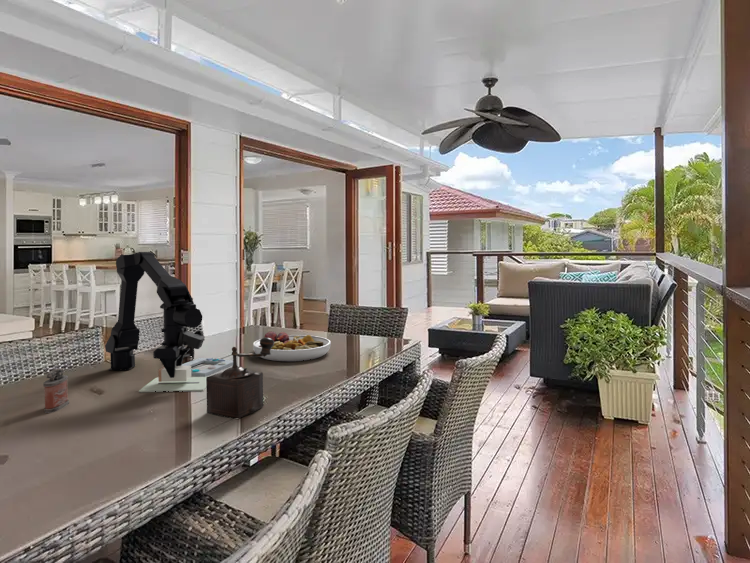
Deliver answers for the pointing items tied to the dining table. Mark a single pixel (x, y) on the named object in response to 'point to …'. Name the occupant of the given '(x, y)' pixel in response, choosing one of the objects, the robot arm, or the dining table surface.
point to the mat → (176, 385)
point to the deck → (180, 374)
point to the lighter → (55, 391)
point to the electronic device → (208, 371)
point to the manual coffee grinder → (237, 387)
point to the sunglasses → (190, 352)
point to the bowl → (294, 347)
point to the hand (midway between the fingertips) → (175, 375)
